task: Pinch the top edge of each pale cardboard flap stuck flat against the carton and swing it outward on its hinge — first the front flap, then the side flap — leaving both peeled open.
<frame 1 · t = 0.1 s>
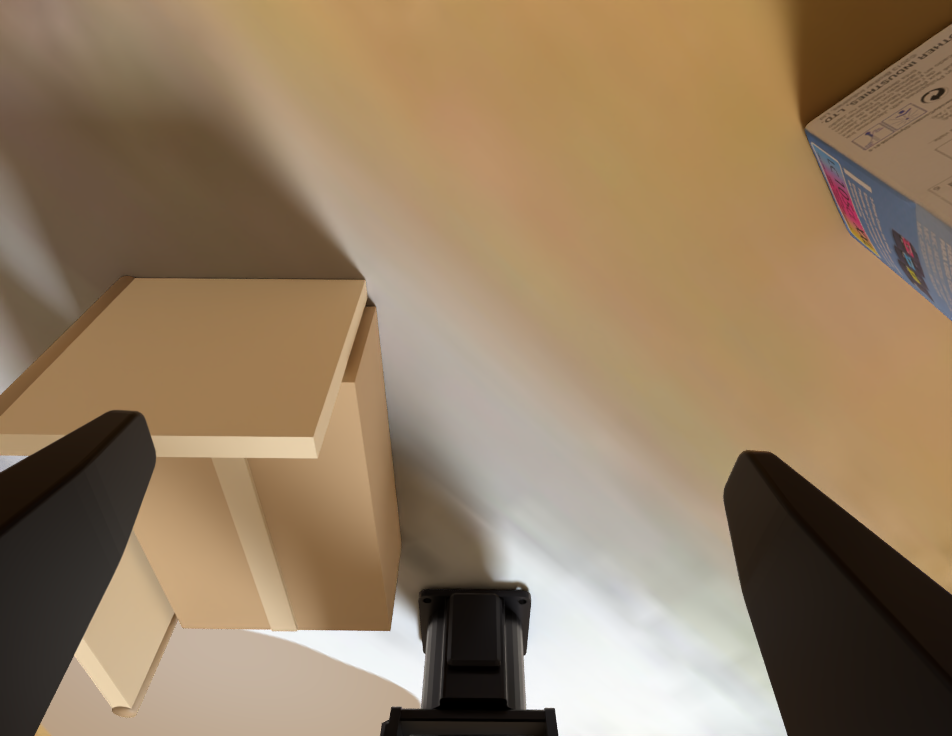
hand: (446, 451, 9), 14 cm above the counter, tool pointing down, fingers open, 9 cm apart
carton: (285, 443, 29), on the counter
side flap: (135, 551, 27), point 5 cm above the counter, hinge at 0.0°
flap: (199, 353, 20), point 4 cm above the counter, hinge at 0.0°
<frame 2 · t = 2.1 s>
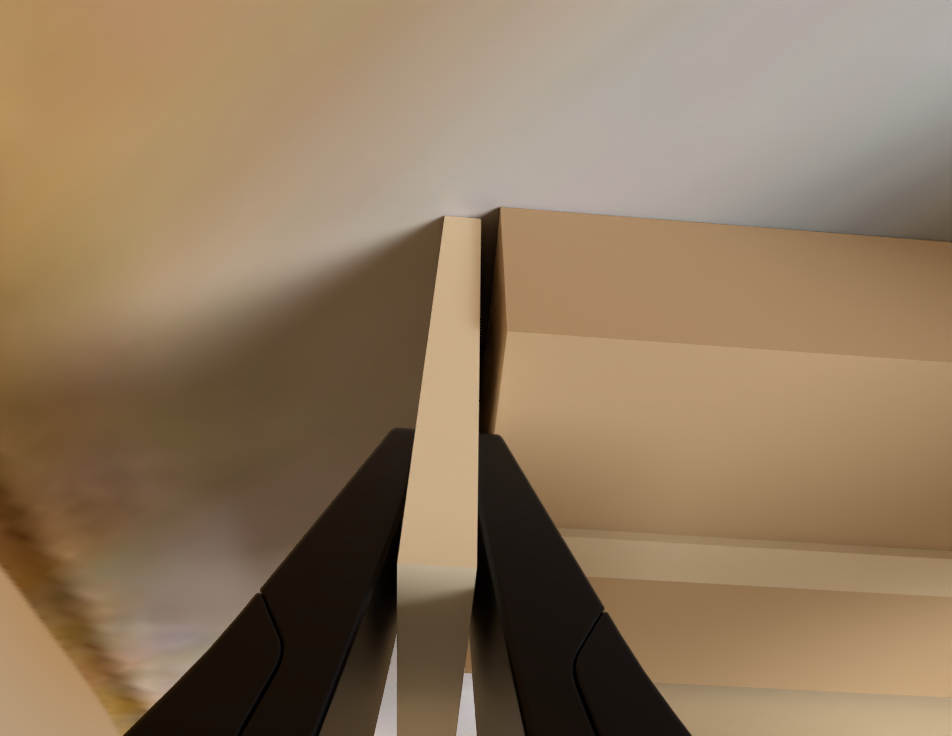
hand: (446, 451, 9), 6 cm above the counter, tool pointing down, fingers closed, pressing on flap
carton: (759, 407, 16), on the counter
side flap: (830, 688, 16), point 5 cm above the counter, hinge at 0.0°
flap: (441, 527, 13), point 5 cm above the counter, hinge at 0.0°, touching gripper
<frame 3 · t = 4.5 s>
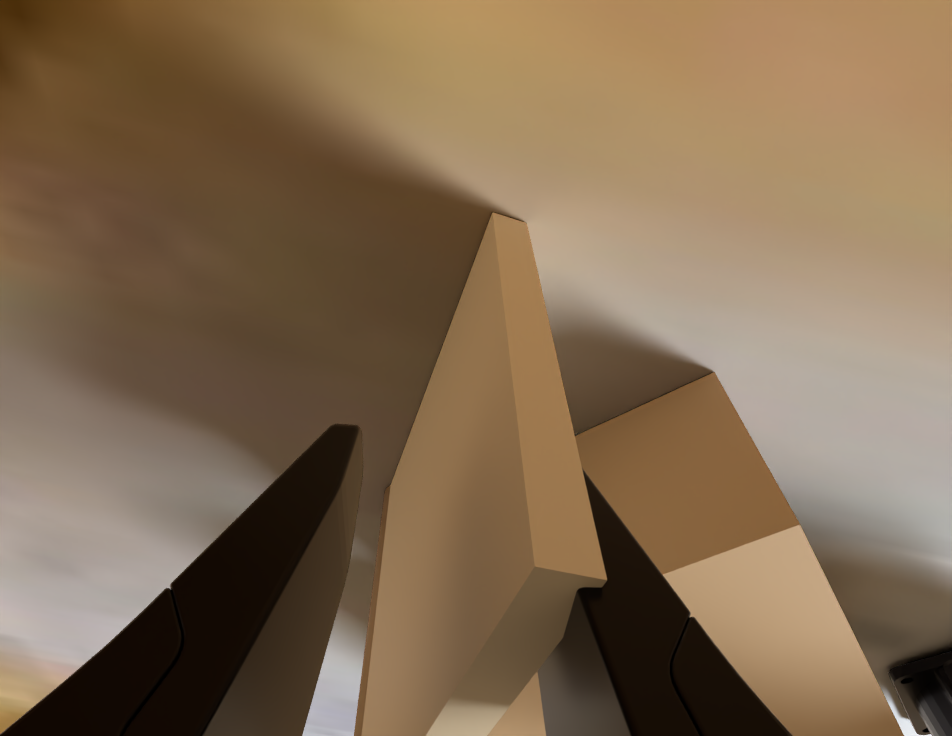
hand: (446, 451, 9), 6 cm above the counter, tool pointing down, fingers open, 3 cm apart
carton: (649, 578, 21), on the counter
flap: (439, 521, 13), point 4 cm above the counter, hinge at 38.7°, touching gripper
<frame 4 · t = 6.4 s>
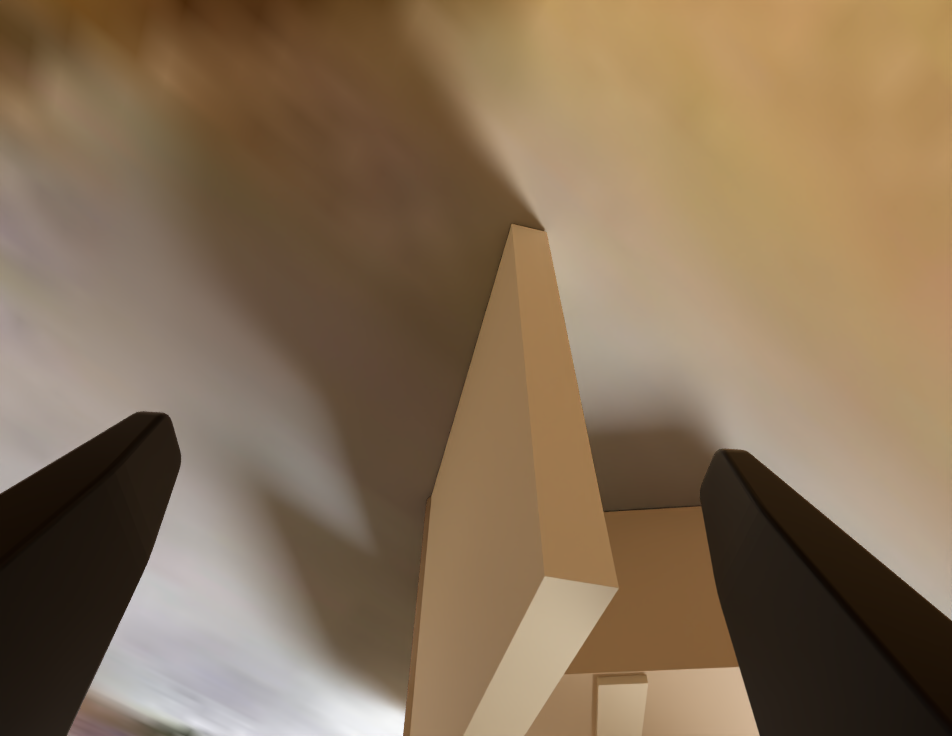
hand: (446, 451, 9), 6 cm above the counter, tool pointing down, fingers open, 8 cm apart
carton: (590, 643, 23), on the counter
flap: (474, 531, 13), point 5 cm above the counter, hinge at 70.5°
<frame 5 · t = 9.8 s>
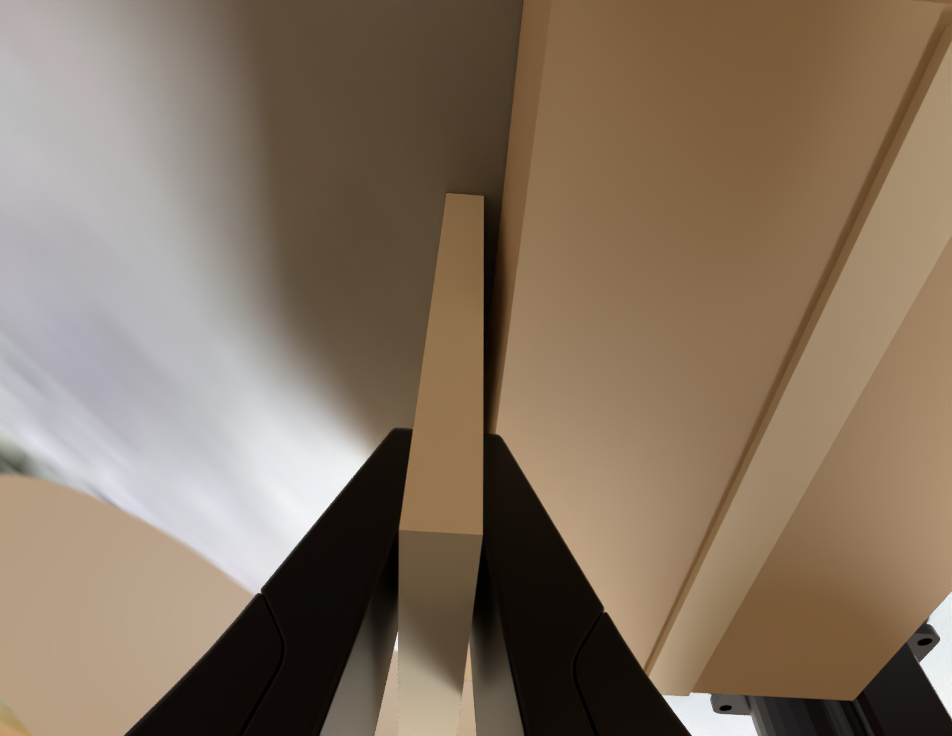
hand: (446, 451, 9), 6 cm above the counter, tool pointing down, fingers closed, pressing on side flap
carton: (690, 335, 15), on the counter
side flap: (442, 526, 13), point 4 cm above the counter, hinge at 0.0°, touching gripper
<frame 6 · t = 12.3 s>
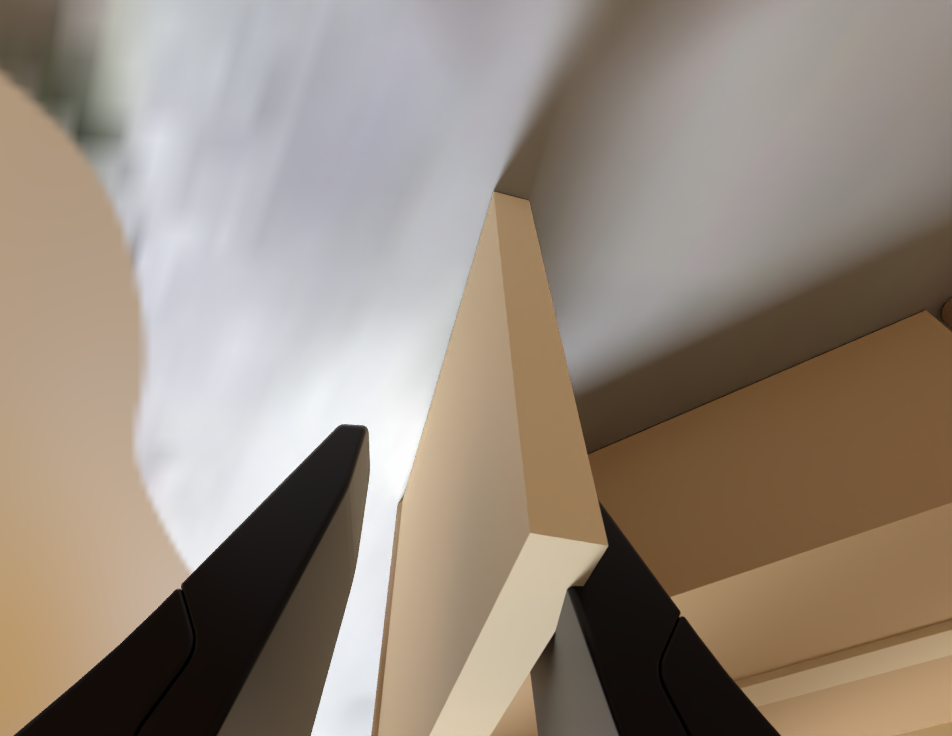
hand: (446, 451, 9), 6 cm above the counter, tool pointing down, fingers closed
carton: (700, 529, 20), on the counter
side flap: (447, 523, 13), point 4 cm above the counter, hinge at 43.3°, touching gripper
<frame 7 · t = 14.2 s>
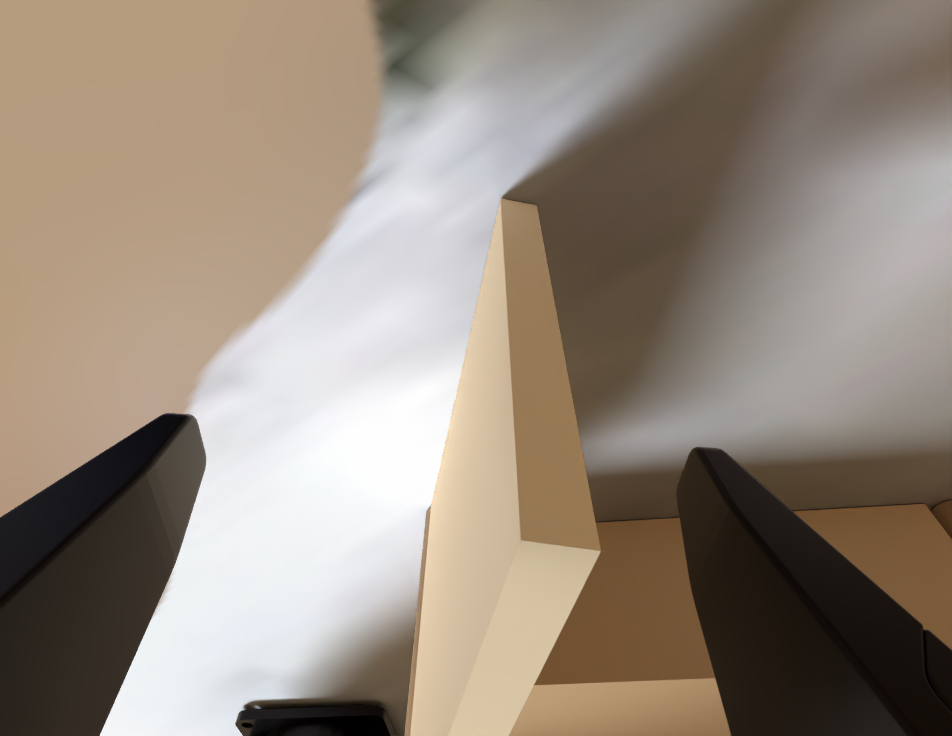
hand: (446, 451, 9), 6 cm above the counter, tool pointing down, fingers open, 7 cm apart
carton: (661, 610, 22), on the counter
side flap: (468, 529, 13), point 4 cm above the counter, hinge at 73.2°
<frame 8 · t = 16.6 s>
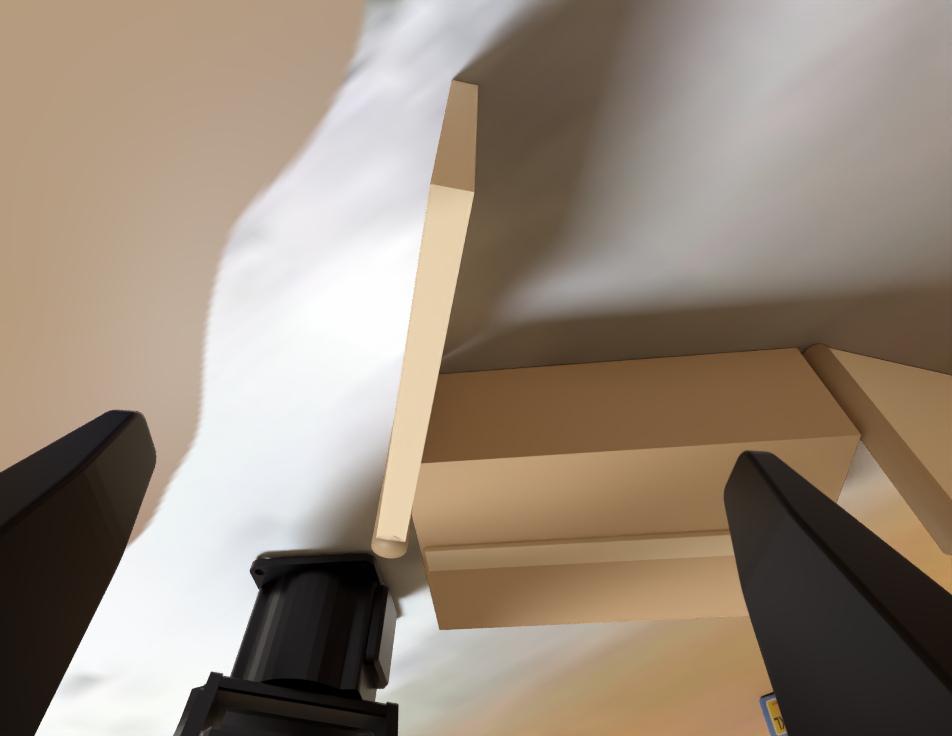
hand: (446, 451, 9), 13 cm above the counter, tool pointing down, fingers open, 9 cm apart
carton: (599, 453, 27), on the counter
side flap: (427, 313, 18), point 4 cm above the counter, hinge at 73.3°
ink cartridge box: (826, 707, 41), on the counter
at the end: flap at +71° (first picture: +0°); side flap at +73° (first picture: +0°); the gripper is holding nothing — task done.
